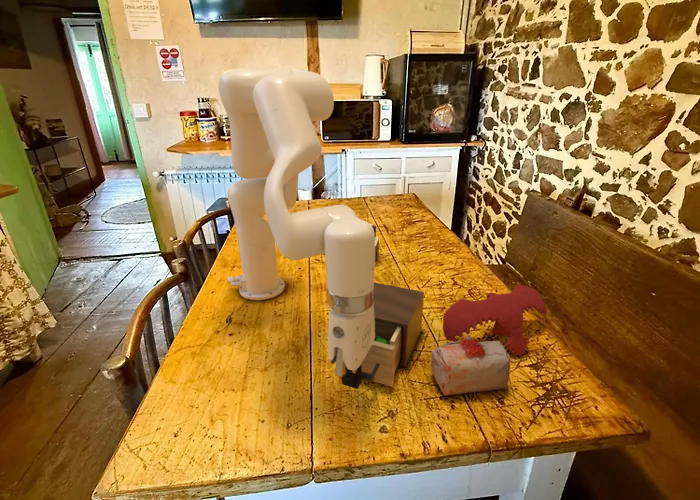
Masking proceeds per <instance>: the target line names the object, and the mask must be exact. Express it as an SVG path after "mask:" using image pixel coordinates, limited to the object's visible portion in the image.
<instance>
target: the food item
mask: <svg viewBox="0 0 700 500" xmlns="http://www.w3.org/2000/svg"><path fill="white" fill-rule="evenodd" d="M430 362H431V363H430V367H431V371H432V374H433V377H434V380H435V382H436V383H437V385H438V387H439V389H440V390H441V392H442V394H443V395H444V397H445V396H447V397H448V396H454V395H460V394H469V393H477V392H489V391H496V390H506V389H508V388H509V386H508V383H509V379H510V369H511V355H510V353H508V352H507V348H506V346H504V344H503V343H502V342H501V341H500V340H499V339H498V340H497V339H496V340H485V341H479V340H477V339H475V340H474V339H473V337H471V335H470V333H469V334H466V335H465V337H464V338H463V339H460V340H458V341H456V342H453V341H449V342H447V343H444V344H442V345H438V347H437V348H434V349H433V350H431V361H430Z"/></svg>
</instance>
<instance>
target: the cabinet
mask: <svg viewBox="0 0 700 500" xmlns="http://www.w3.org/2000/svg"><path fill="white" fill-rule="evenodd" d="M424 298H425V291H421V290H415V289H412V288H411V289H410V288H405V287H401V286H394V285H390V284H385V283H378V282H375V281H374V317H375V321H378V322H383V323H387V324H391V325H396V326H400V327H404V332H403V352H402V357H401V359H400V361H399V363H398V365H397V366H399V367H403V368H406V367H407V364H408V362H409V360H410V357H411V356H412V353H413V351H414V348H415V347H416V344H417V341H418V339H419V337H420V334H421V332H422V325H423V324H422V323H423V313H424V311H423V310H424Z"/></svg>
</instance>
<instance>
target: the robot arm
mask: <svg viewBox="0 0 700 500" xmlns="http://www.w3.org/2000/svg"><path fill="white" fill-rule="evenodd" d="M218 93H219V99H220V101H221V103H222V107H223V108H224V110H225V111H224V112H225V113H226V115H227V118H228V121H229V134H230V150H231V151H230V152H231V163H232V168H233V171H234V173H235V175H236V176H238V177H239V178H241V179H240V180H237V181H235V182H233V183H231V184H230V186H229V187H228V189H227V193H226V194H227V195H226V196H227V201H228V204H229V207H230V211H231V214H232V217H233V221H234V225H235V226H234V227H235V231H236V239H237V244H238V250H239V257H240V265H241V271H242V274H239V276H228V277H227V284H228V285H229V284H230V287H231V288H235V287H236V288H237V287H239V288H238V291H239V295H240V296H241V297H242V298H244V299H247V300H251V301H265V300H269V299H273V298H275V297H277V296H279V295H280V294H282V293H283V292H284V290H285V285H286V284H285V281H284V279H282V278H281V277H279V270H278V259H277V251H276V248H277V249H278V251H279V253H280V254H281V256H283V257H284V258H286V259H287V260H290V261H299V260H304V259H309V258H312V257H316V256H321V255H324V258H325V280H326V282H325V283H326V304H327V308H328V310H329V316H328V328H327V352H328V353H327V354H328V361H329V363H330V365H331V366H332V365H334V364H335V369H334V375H335V376H337V377H341V384H342V385H343V386H345V387H348V388H351V389H355V390H358V389H359V388H360V385H362V383H363V380H362V366H360V365H361V364H362V361H363V360H364V358H365V356H366V355H367V353H368V351H369V350H370V348H371V346H372V344H373V342H374V340H375V317H374V282H375V266H374V252H375V233H374V229H373V227H372V226H371V225H370V224H371V223H369V222H368V221H366V220H363V219H360V218H359V216H358V215H357V214H356V213H355V211H354V210H353V209H352V208H351V207H350V206H348V205H345V204H333V205H328V206H324V207H317V208H311V209H306V210H301V211H295V212H291V213H290V212H289V210H291V209H292V208H294V207H295V206H296V204H297V201H298V200H297V199H298V191H299V189H298V188H299V174H301V173H303V172H304V171H305V170H308V168H310V167H312V165H314V164H315V163H316V162H317V161H318V160H319V159H320V157H321V154H322V152H323V148H322V144H321V141H320V138H319V136H318V134H317V131H316V128H315V126H314V123H313V122H321V121H325V120H328V119H329V118H330V117H331V115H332V114H333V111H334V107H335V106H334V105H335V101H334V99H335V98H334V93H333V90H332V88H331V85H330V84H329V82H328V81H327V79H326V78H325V77H324V75H321V74H320V73H317V72H313V71H310V70H305V69H302V68H298V67H240V68H231V69H227V70H225V71H222V73H221V74H220V76H219V79H218ZM263 216H266V219H267V220H266V219H265V218H263Z"/></svg>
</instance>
